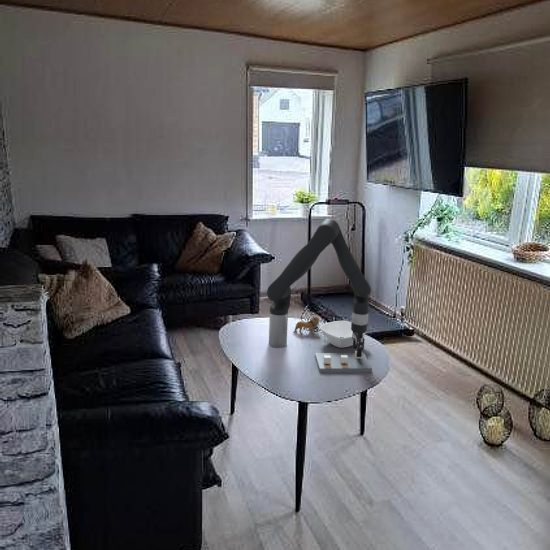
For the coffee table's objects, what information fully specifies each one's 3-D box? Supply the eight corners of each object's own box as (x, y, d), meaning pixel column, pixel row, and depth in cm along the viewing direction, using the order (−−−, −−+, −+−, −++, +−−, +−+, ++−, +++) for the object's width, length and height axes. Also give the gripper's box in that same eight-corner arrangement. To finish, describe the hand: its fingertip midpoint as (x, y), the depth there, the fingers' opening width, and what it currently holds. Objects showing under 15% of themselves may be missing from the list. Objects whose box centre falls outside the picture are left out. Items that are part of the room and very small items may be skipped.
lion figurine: (316, 330, 273) (317, 314, 270) (320, 333, 268) (321, 318, 265) (291, 332, 269) (292, 316, 266) (294, 336, 264) (295, 320, 261)
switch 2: (340, 361, 231) (340, 355, 230) (346, 360, 231) (347, 355, 231) (341, 363, 229) (341, 357, 228) (347, 363, 229) (348, 357, 228)
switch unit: (314, 356, 240) (315, 352, 239) (363, 356, 242) (363, 352, 241) (319, 372, 225) (320, 368, 224) (371, 372, 226) (372, 367, 226)
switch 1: (323, 361, 230) (323, 355, 229) (329, 361, 231) (330, 355, 230) (324, 363, 228) (324, 357, 227) (330, 363, 228) (331, 357, 227)
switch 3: (354, 356, 236) (355, 350, 236) (360, 356, 237) (361, 350, 236) (355, 358, 234) (356, 352, 233) (362, 358, 234) (362, 352, 234)
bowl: (343, 333, 269) (344, 318, 267) (370, 347, 253) (371, 332, 250) (313, 340, 258) (314, 325, 256) (338, 356, 242) (339, 340, 239)
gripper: (348, 315, 240) (346, 346, 244) (355, 327, 226) (352, 359, 231) (364, 315, 240) (361, 346, 245) (371, 327, 227) (368, 359, 231)
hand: (356, 352), depth 238 cm, fingers open, 8 cm apart
